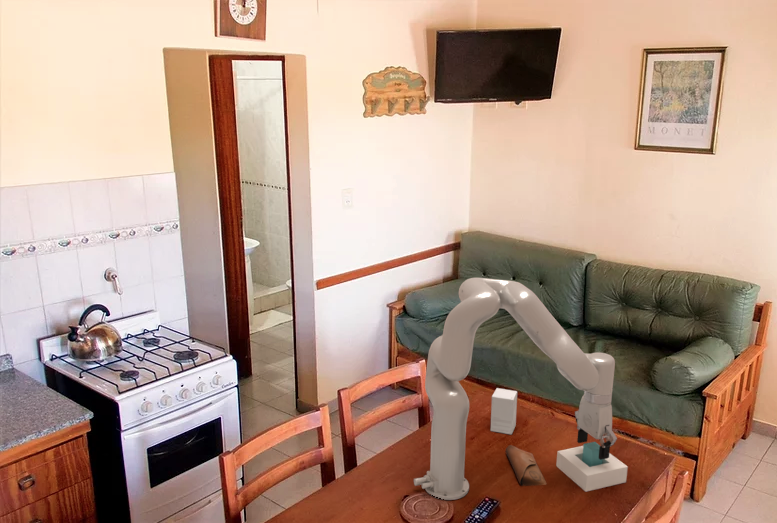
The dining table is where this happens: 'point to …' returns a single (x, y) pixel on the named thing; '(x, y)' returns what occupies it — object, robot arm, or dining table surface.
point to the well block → (591, 470)
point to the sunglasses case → (525, 467)
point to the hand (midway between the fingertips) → (592, 450)
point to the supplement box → (503, 411)
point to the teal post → (591, 454)
